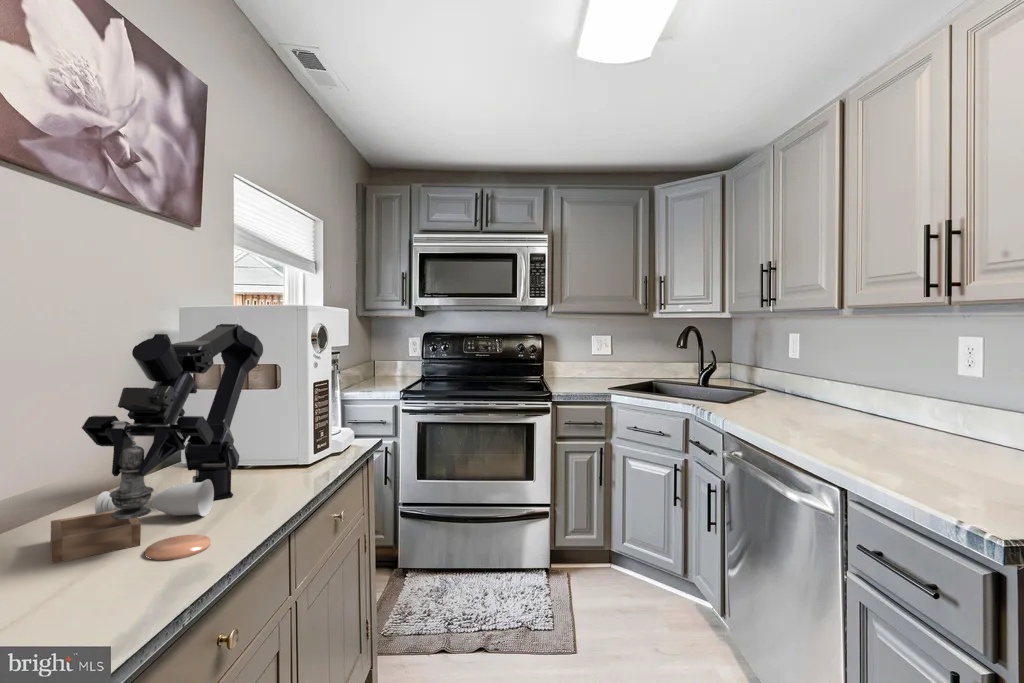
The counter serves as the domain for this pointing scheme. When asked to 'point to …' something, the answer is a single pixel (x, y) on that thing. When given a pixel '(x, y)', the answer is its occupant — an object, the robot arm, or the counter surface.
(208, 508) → the chalice
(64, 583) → the counter surface
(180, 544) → the terracotta coaster
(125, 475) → the pewter pepper pot
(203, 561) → the counter surface
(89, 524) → the walnut collar
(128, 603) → the counter surface
